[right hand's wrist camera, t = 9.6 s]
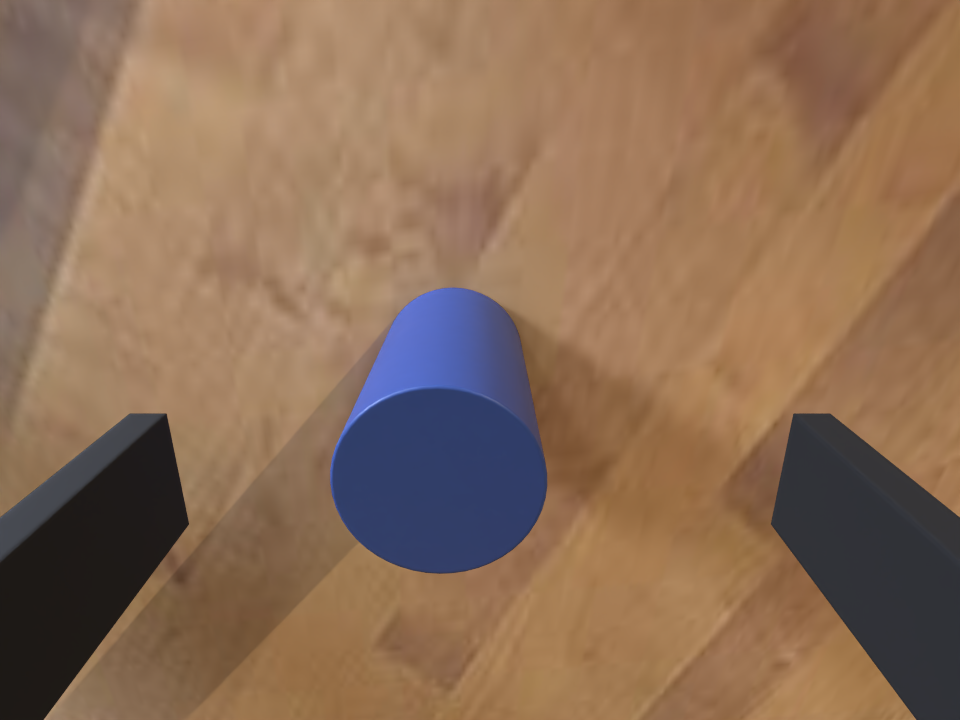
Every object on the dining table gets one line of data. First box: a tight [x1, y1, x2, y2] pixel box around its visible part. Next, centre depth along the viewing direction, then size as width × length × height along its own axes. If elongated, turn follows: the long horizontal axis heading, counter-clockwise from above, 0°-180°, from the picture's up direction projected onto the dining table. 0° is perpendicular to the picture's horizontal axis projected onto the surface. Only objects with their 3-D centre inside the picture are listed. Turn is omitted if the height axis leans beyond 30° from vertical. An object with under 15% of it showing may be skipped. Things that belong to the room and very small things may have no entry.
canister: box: [330, 288, 547, 574], centre depth 21 cm, size 6×6×10 cm
